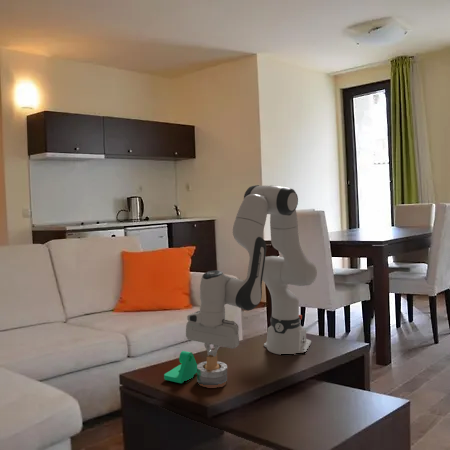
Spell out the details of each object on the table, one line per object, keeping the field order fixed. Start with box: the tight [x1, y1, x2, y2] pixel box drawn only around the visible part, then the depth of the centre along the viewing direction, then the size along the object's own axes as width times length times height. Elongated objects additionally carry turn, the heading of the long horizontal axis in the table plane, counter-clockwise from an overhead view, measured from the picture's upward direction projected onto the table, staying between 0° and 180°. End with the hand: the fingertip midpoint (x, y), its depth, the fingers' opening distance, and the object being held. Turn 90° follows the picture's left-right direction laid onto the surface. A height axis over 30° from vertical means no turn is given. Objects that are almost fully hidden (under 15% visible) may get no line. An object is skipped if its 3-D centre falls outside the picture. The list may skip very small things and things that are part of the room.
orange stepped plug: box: [205, 355, 219, 370], centre depth 193 cm, size 5×5×6 cm
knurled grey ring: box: [196, 360, 228, 385], centre depth 193 cm, size 11×11×6 cm
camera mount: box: [163, 350, 198, 384], centre depth 197 cm, size 12×8×10 cm, turn 152°
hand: (212, 355), depth 192 cm, fingers closed, pressing on orange stepped plug
